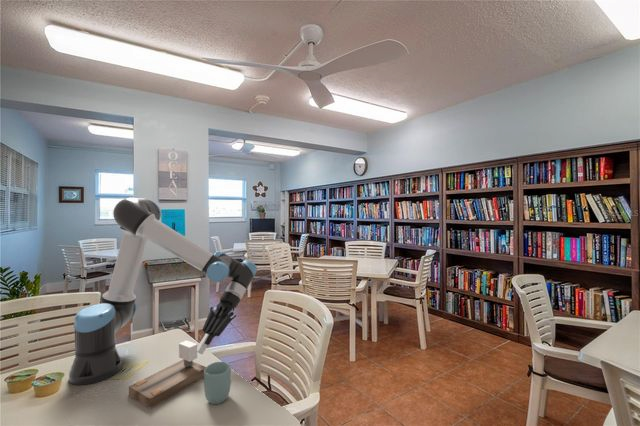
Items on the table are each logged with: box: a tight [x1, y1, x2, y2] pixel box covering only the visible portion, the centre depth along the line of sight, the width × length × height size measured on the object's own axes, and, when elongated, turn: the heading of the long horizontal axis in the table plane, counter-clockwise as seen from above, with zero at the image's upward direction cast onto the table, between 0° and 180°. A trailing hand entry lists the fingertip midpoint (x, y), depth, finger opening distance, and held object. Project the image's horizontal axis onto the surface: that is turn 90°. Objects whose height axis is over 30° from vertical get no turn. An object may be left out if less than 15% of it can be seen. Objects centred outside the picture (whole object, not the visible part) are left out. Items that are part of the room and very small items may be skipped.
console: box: [128, 359, 207, 409], centre depth 100 cm, size 12×20×3 cm, turn 149°
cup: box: [203, 361, 232, 405], centre depth 92 cm, size 8×8×10 cm
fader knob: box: [178, 339, 198, 367], centre depth 106 cm, size 6×3×8 cm, turn 59°
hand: (198, 352), depth 109 cm, fingers closed
